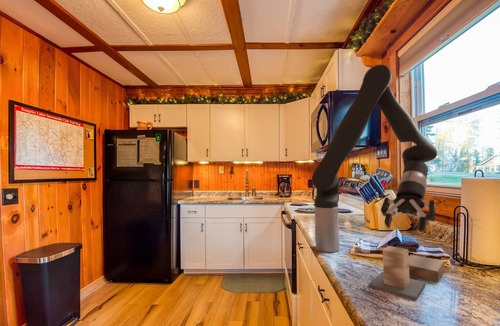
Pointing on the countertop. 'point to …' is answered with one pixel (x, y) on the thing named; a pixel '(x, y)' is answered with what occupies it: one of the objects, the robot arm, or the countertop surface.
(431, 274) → the walnut ledge
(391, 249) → the maple block
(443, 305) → the countertop surface
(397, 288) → the slate mat
